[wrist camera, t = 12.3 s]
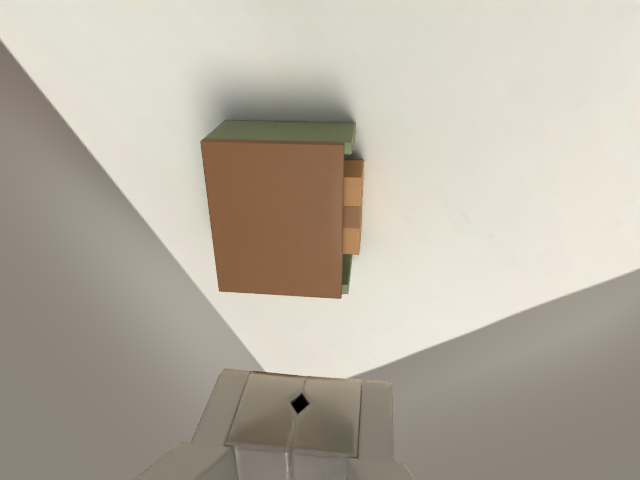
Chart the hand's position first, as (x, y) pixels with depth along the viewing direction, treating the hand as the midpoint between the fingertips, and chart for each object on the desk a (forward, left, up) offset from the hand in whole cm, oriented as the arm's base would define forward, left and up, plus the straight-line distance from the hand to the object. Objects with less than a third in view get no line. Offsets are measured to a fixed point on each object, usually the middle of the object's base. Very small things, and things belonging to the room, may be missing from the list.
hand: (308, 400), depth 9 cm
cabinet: (+6, +9, -31) cm, 33 cm away
